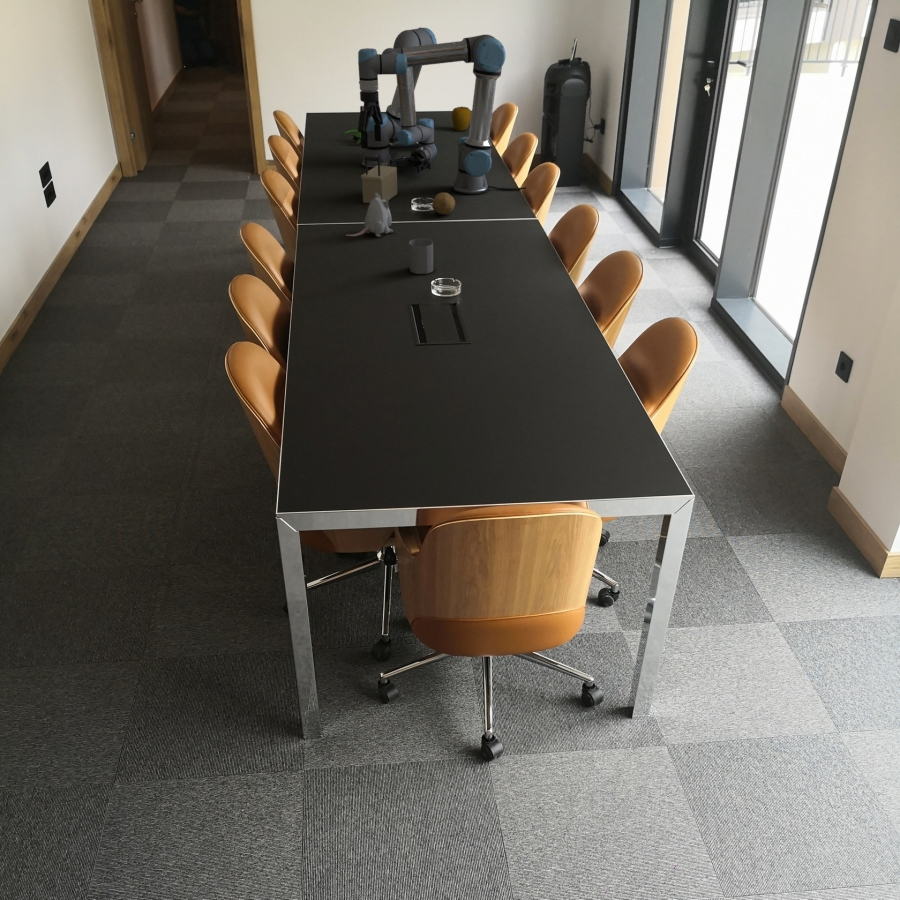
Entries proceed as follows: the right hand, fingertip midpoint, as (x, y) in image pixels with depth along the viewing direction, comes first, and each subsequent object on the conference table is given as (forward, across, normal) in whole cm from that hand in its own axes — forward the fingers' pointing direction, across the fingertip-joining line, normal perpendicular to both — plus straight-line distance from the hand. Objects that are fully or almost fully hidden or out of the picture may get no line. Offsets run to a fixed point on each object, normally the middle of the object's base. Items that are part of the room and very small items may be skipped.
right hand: (371, 144), depth 363 cm
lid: (+14, -6, 0) cm, 15 cm away
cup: (+24, +68, +48) cm, 87 cm away
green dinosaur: (+24, -98, -45) cm, 110 cm away
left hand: (+18, -33, +1) cm, 38 cm away
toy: (+24, +42, +16) cm, 51 cm away
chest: (+24, -7, 0) cm, 25 cm away
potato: (+24, +5, +34) cm, 42 cm away
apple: (+24, -142, -8) cm, 144 cm away
